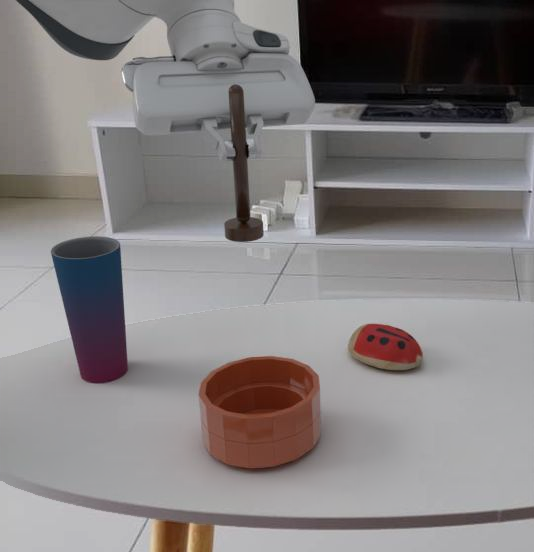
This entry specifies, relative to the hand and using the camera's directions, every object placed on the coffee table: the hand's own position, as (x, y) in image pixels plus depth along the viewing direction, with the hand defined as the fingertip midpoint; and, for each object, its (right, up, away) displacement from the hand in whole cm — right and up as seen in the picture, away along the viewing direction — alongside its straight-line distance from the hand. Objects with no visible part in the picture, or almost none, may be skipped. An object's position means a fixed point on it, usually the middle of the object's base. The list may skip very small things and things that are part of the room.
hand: (241, 157), depth 83 cm
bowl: (+4, -29, -9) cm, 31 cm away
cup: (-16, -24, +2) cm, 29 cm away
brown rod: (-1, -8, +4) cm, 9 cm away
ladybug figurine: (+16, -23, +6) cm, 29 cm away
